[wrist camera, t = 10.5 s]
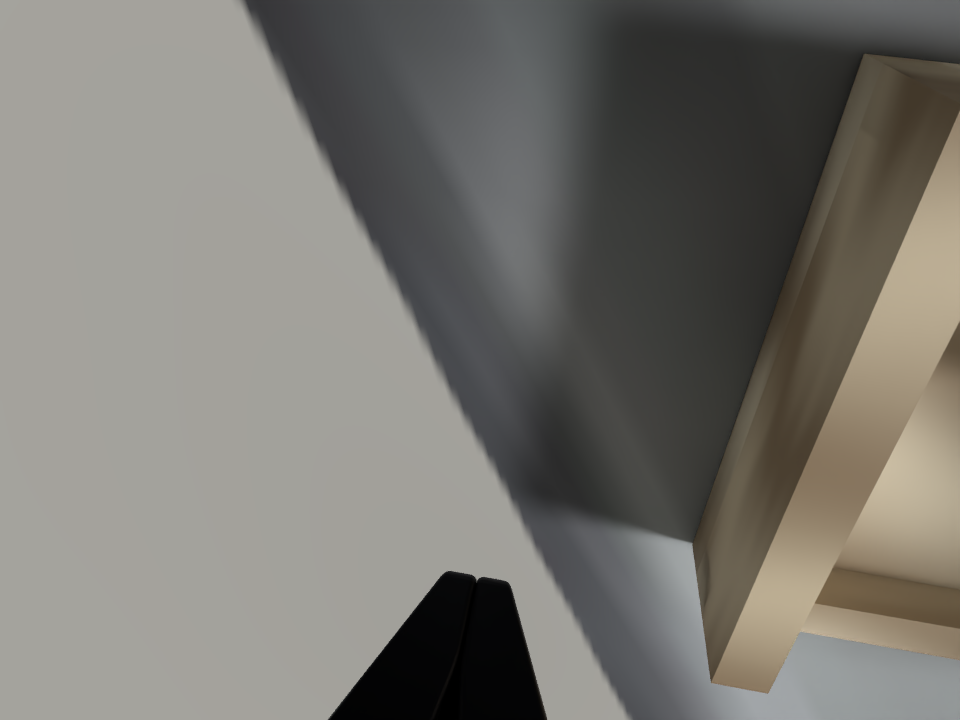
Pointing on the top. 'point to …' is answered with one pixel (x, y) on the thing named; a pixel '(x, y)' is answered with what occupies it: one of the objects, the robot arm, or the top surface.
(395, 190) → the top surface
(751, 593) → the tray
